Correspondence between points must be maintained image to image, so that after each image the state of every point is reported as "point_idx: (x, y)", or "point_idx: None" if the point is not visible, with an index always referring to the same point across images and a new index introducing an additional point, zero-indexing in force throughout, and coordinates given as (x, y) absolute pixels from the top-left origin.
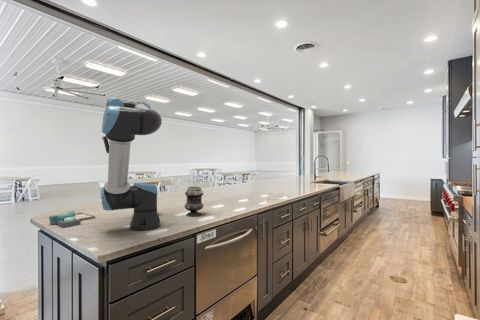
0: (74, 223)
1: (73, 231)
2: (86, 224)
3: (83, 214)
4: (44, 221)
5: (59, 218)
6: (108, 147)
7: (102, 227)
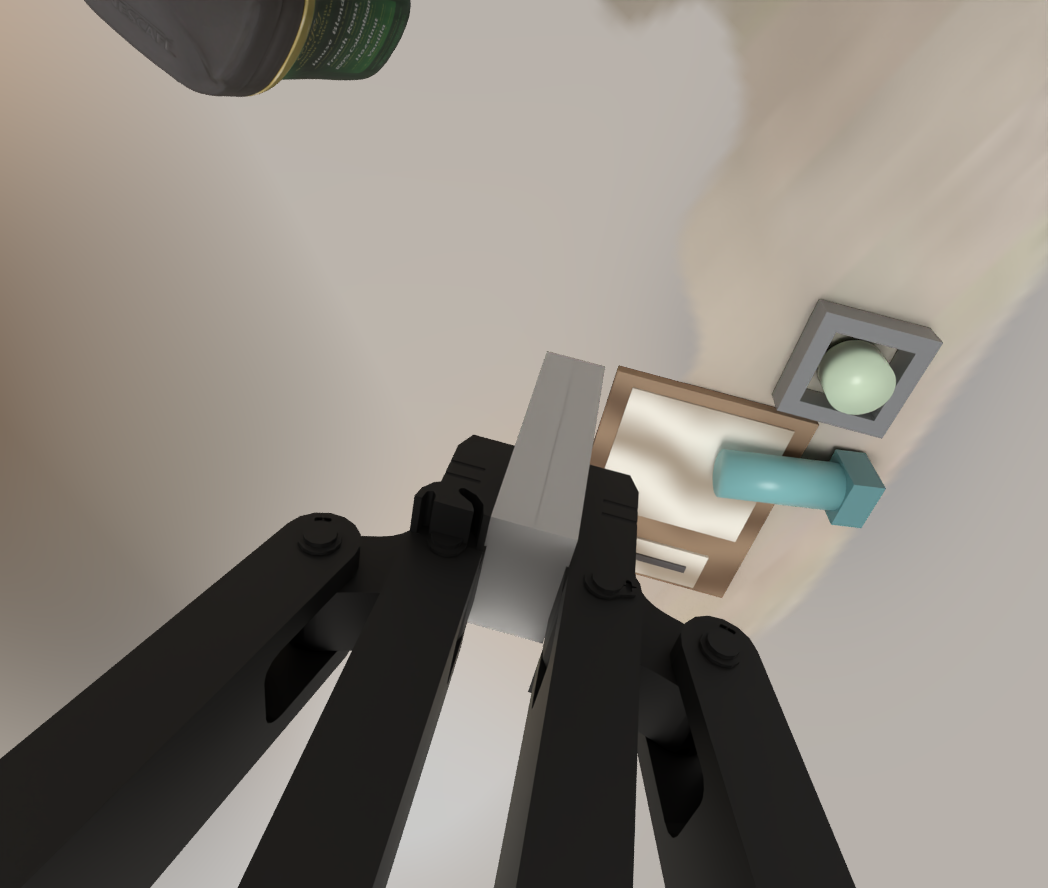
0: (863, 316)
1: (1026, 161)
2: (805, 259)
3: None
4: (790, 570)
5: (834, 469)
6: (793, 849)
7: (873, 27)
